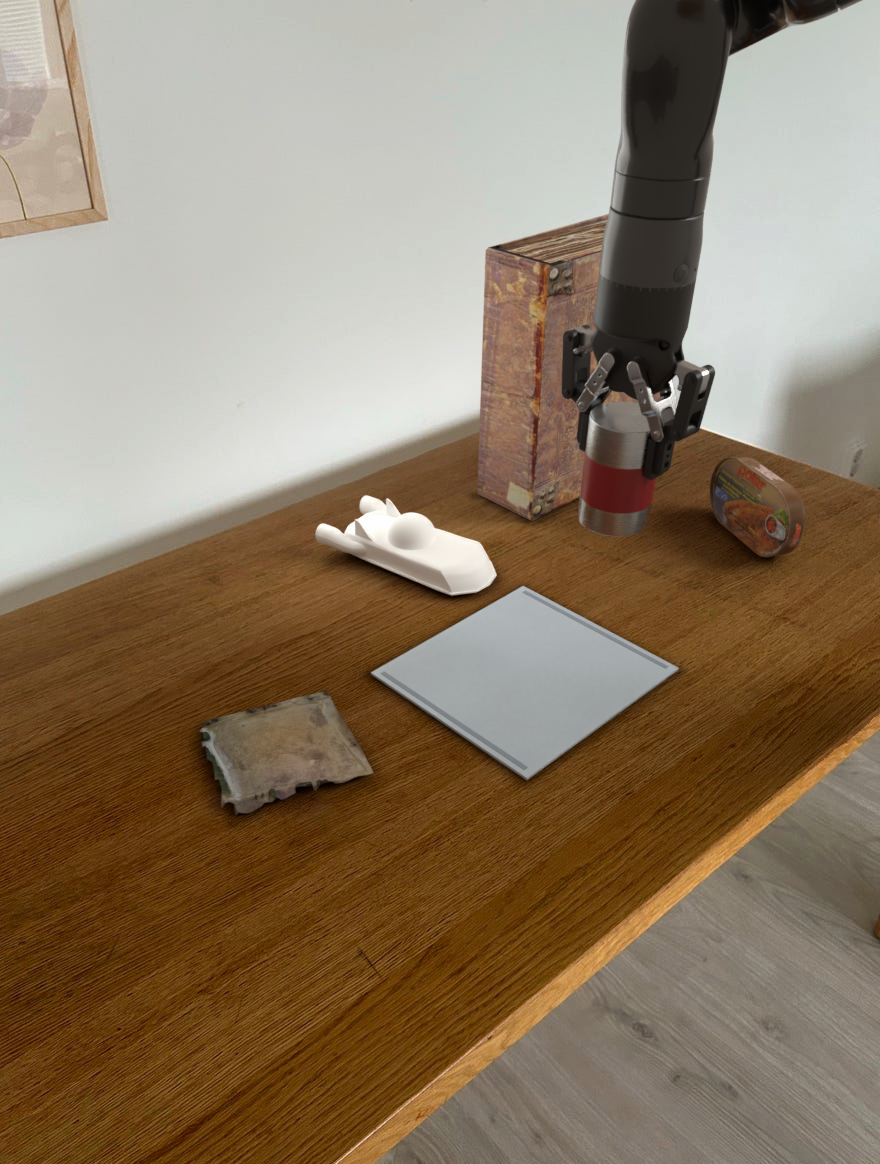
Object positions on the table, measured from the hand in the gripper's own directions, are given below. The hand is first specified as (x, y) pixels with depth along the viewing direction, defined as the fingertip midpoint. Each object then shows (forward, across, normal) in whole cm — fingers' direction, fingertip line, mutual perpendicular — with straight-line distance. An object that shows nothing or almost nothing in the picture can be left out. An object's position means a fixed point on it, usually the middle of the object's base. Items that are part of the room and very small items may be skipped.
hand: (620, 461), depth 89 cm
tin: (+20, +1, -30) cm, 36 cm away
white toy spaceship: (+21, +24, +3) cm, 32 cm away
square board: (+20, +2, +8) cm, 22 cm away
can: (+6, 0, 0) cm, 6 cm away
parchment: (+21, +8, +32) cm, 39 cm away
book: (+20, +25, -26) cm, 42 cm away
